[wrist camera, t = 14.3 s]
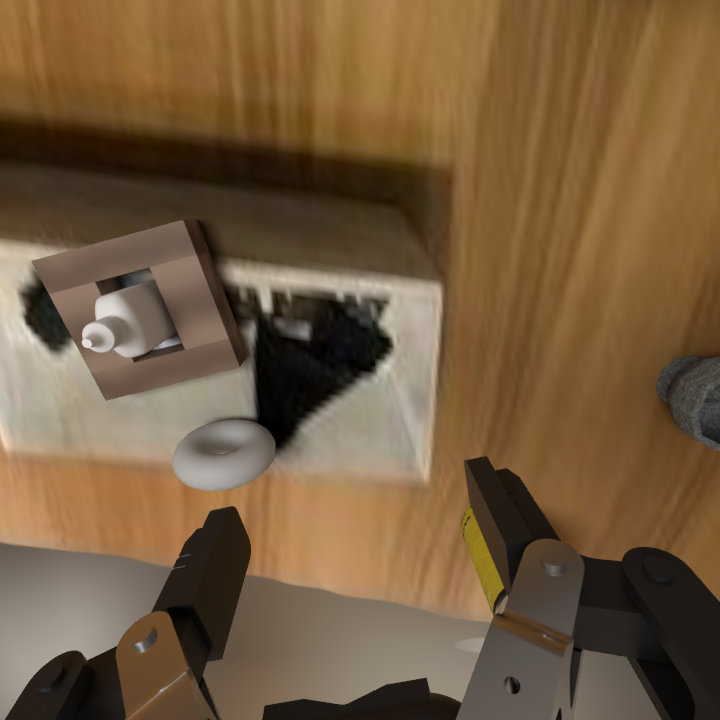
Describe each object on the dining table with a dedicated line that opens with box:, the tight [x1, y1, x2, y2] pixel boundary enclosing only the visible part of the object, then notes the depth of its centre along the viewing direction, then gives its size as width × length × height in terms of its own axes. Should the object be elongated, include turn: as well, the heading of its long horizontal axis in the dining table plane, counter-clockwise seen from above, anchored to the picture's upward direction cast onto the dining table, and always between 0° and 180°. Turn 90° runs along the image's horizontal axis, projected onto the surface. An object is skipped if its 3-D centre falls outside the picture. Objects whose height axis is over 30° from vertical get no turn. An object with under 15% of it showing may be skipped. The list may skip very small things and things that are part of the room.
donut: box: [172, 419, 275, 491], centre depth 40 cm, size 10×4×10 cm, turn 89°
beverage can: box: [461, 506, 508, 616], centre depth 45 cm, size 9×9×12 cm
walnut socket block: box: [32, 220, 248, 400], centre depth 38 cm, size 14×14×4 cm
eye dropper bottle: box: [82, 280, 177, 358], centre depth 34 cm, size 4×6×12 cm
